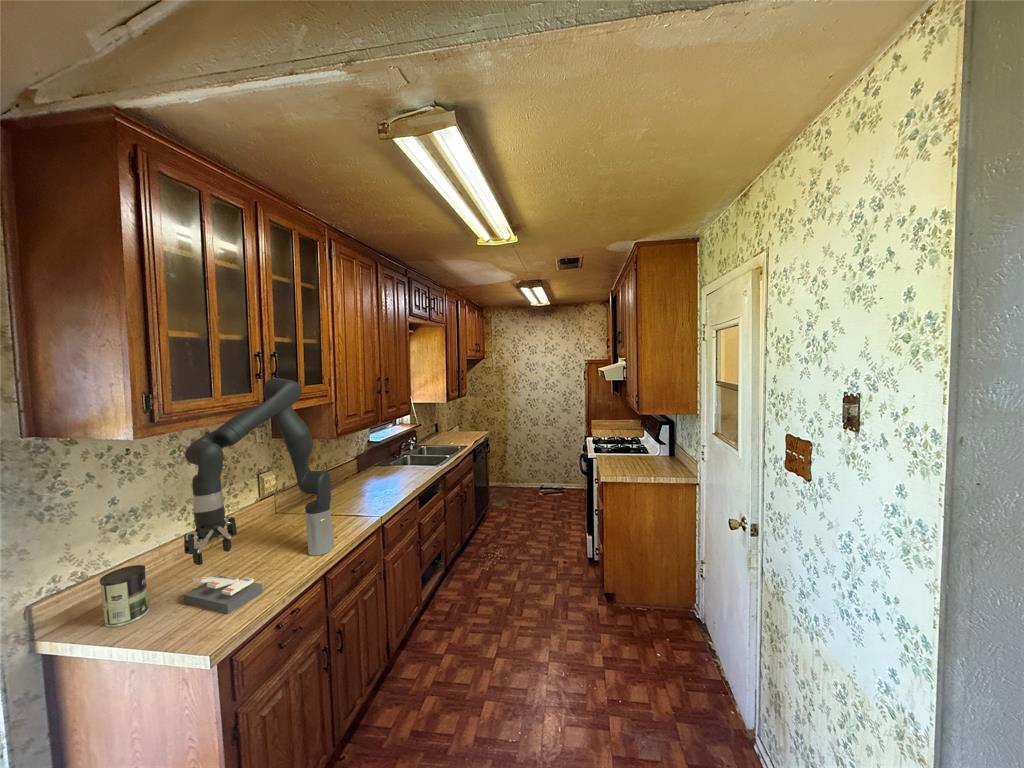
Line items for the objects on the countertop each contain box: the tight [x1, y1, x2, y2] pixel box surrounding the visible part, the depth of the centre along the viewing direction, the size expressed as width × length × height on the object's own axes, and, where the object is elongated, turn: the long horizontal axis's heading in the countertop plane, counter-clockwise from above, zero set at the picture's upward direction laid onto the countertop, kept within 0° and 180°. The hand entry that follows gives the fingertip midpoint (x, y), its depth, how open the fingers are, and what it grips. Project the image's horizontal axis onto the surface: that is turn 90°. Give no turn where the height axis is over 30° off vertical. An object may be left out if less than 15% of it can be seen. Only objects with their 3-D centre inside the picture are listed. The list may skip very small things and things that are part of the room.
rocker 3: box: [222, 577, 255, 596], centre depth 134 cm, size 8×5×1 cm, turn 161°
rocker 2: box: [207, 577, 240, 589], centre depth 136 cm, size 8×5×1 cm, turn 161°
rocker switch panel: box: [182, 575, 263, 615], centre depth 136 cm, size 12×20×3 cm, turn 71°
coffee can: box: [99, 564, 150, 628], centre depth 127 cm, size 10×10×14 cm
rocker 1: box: [192, 576, 224, 584], centre depth 139 cm, size 8×5×1 cm, turn 161°
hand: (213, 557), depth 127 cm, fingers open, 8 cm apart
